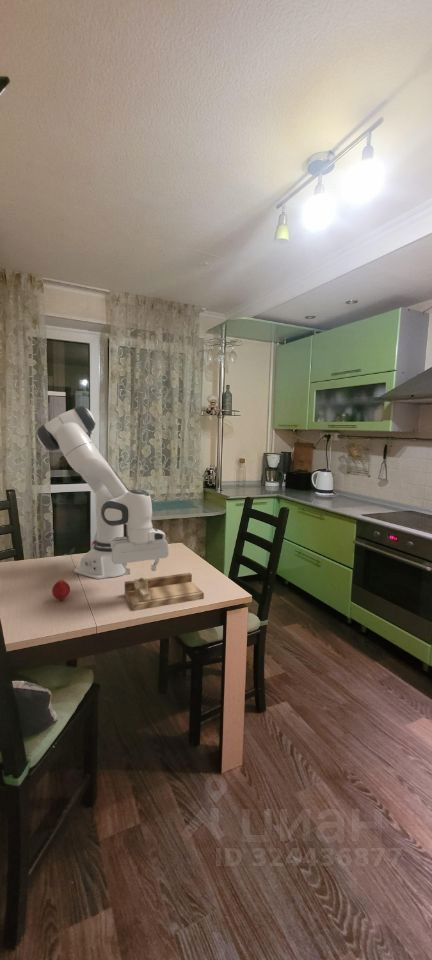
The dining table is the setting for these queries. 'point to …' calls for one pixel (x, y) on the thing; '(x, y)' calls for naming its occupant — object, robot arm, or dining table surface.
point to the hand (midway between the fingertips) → (140, 572)
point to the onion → (60, 589)
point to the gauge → (142, 589)
